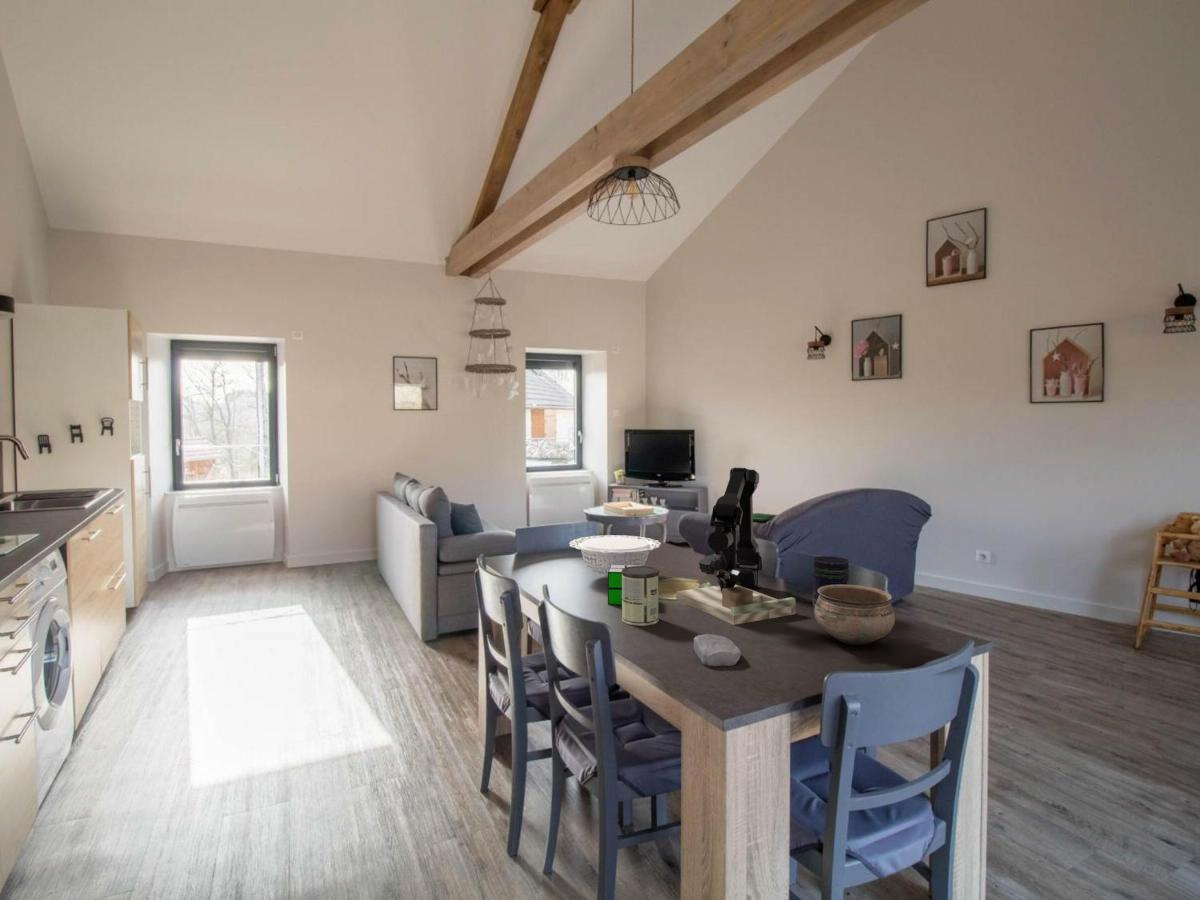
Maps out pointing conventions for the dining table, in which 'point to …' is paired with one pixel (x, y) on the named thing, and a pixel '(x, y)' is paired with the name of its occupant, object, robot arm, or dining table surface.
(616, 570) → the puzzle cube
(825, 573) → the storage jar
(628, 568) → the coffee can
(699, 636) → the stone block
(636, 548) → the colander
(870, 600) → the cooking pot
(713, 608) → the trap deck
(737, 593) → the walnut block
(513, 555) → the dining table surface
